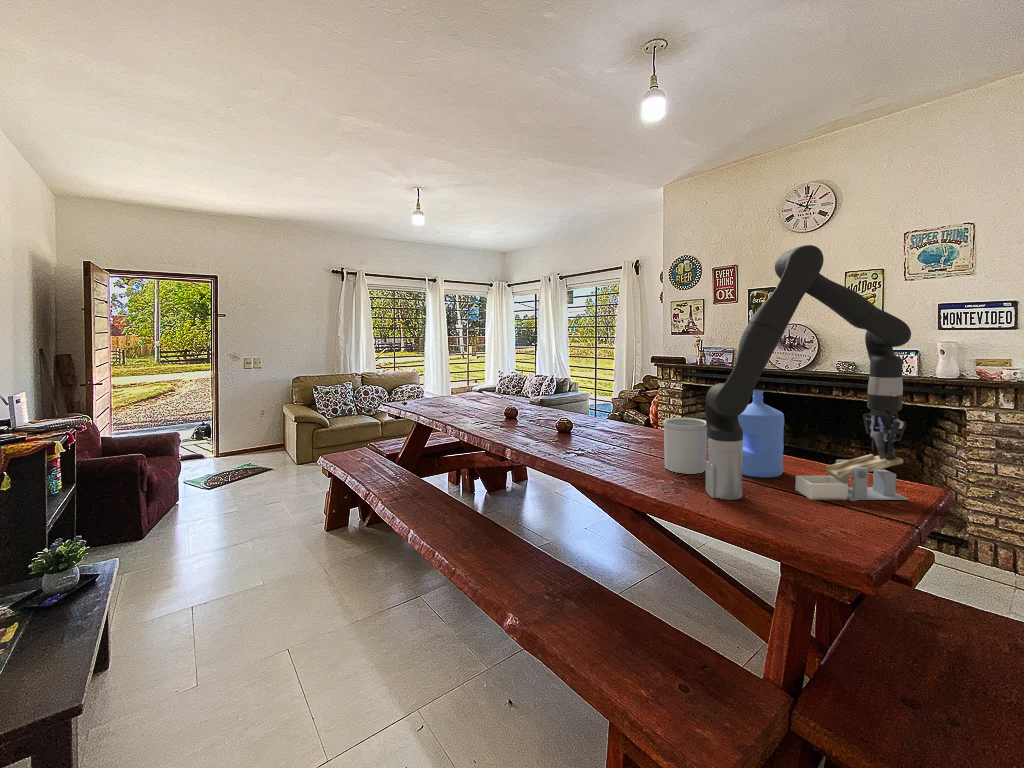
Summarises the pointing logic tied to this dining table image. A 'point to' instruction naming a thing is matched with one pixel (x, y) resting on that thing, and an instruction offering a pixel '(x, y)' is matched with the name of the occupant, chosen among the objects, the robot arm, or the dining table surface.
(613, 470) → the dining table surface
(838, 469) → the lever
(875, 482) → the stand
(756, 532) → the dining table surface
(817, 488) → the gray open tray
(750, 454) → the water jug
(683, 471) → the utensil holder
